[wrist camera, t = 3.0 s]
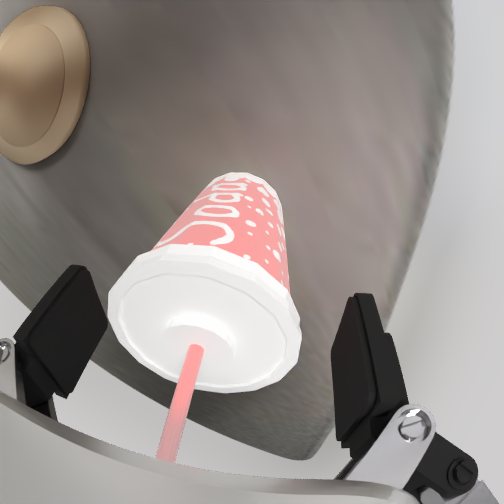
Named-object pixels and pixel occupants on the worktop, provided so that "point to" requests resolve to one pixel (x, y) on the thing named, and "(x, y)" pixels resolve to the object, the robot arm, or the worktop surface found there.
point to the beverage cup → (212, 299)
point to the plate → (41, 82)
